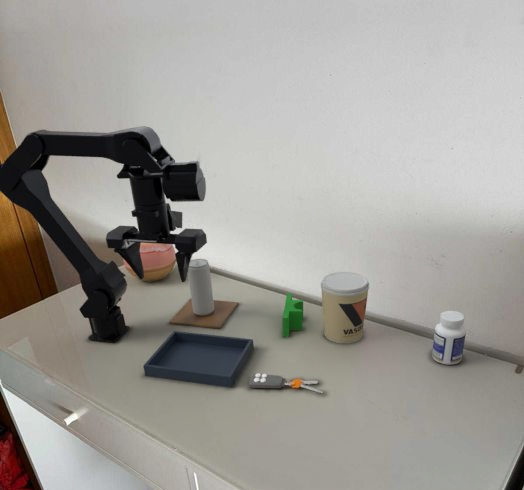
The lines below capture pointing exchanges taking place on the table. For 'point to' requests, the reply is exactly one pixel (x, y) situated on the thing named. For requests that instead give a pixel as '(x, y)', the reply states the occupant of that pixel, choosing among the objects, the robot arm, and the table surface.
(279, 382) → the key chain
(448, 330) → the pill bottle
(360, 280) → the beige lidded tub
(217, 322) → the cork mat
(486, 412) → the table surface
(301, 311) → the pipe clamp
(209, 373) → the tray
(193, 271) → the beverage can
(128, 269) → the vase
